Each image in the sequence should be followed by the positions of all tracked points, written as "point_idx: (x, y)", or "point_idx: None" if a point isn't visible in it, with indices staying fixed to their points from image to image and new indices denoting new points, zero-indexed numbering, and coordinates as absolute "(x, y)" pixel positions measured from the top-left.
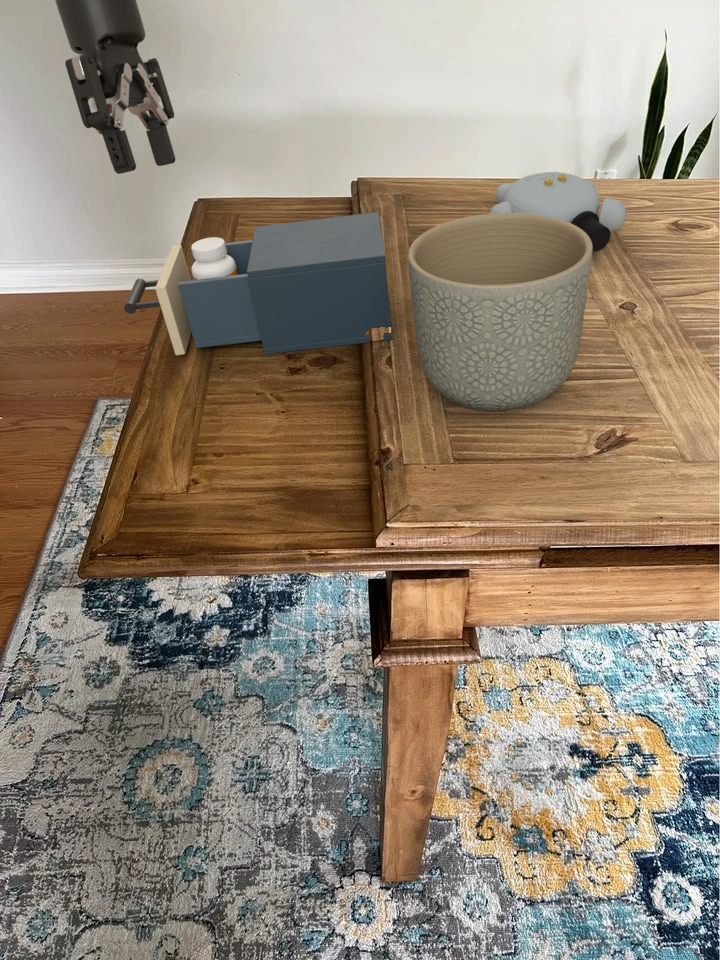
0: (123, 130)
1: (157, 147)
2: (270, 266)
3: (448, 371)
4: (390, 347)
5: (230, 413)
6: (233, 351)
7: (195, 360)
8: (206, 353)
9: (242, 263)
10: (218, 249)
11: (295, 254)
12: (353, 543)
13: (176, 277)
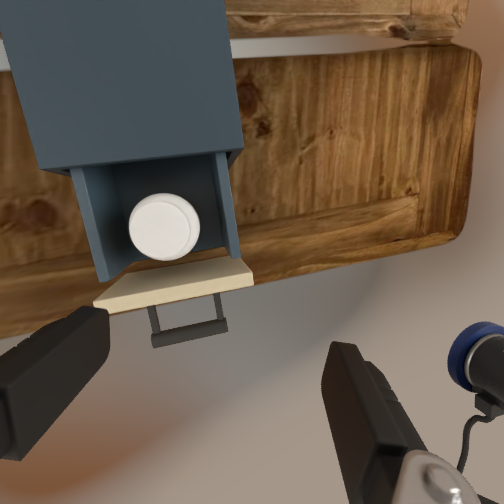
0: (393, 442)
1: (73, 376)
2: (229, 109)
3: None
4: None
5: (328, 183)
6: None
7: None
8: None
9: (103, 201)
10: (177, 207)
11: (186, 67)
12: (479, 59)
13: (182, 280)
